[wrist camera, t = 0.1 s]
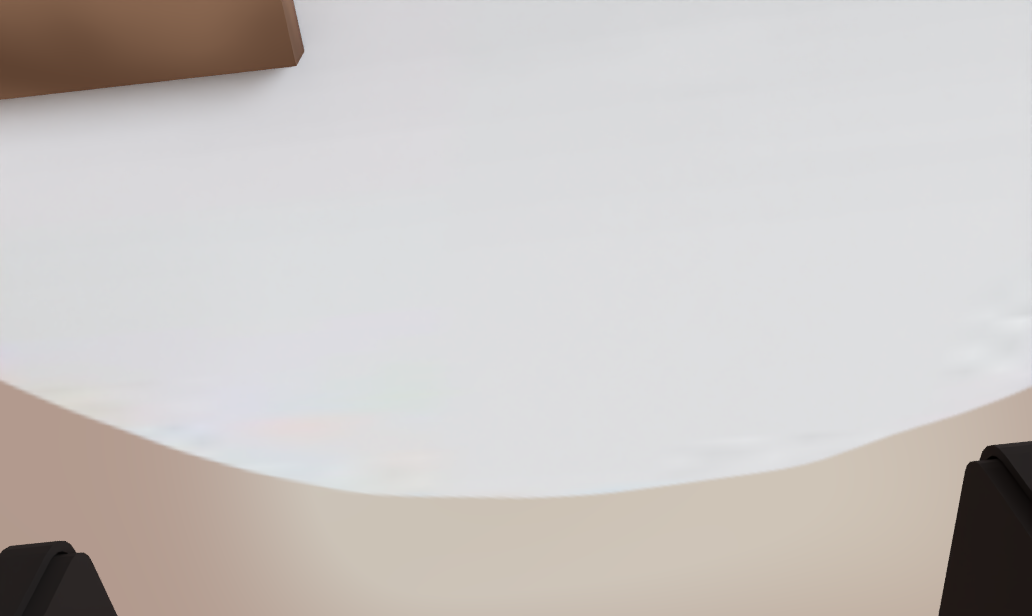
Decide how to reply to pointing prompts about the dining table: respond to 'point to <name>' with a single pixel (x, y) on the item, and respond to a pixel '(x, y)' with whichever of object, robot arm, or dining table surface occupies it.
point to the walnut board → (139, 42)
